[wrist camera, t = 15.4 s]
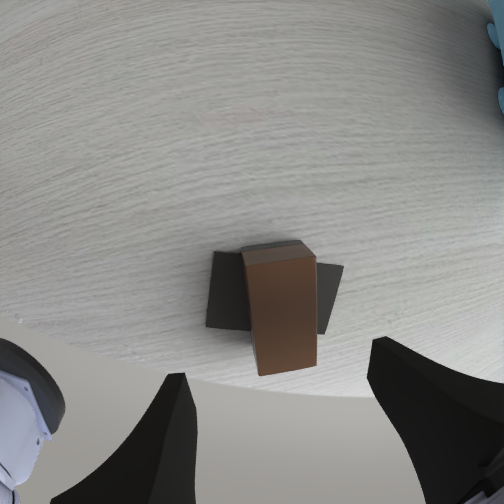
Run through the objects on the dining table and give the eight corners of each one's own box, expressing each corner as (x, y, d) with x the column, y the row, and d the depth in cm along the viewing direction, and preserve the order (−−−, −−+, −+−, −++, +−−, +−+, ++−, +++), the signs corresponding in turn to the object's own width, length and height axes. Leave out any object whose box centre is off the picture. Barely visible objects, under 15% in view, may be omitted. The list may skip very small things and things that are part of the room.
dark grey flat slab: (323, 333, 20) (324, 334, 20) (205, 326, 19) (205, 327, 18) (343, 265, 18) (344, 266, 18) (214, 251, 17) (214, 251, 17)
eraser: (304, 339, 20) (316, 366, 17) (252, 347, 19) (258, 377, 16) (300, 239, 17) (316, 255, 15) (240, 247, 17) (245, 266, 14)
